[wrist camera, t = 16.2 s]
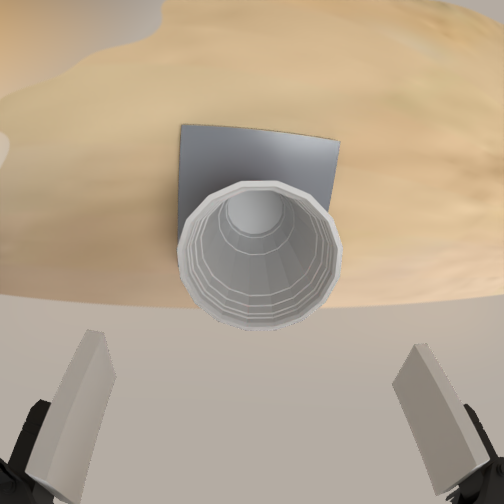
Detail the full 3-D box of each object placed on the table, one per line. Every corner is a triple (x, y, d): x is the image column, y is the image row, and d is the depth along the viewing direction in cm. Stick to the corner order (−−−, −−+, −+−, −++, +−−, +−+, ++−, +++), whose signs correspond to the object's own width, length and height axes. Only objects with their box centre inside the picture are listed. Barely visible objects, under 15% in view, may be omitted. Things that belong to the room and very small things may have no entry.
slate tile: (179, 261, 34) (178, 267, 33) (184, 124, 27) (181, 124, 26) (311, 271, 35) (314, 277, 34) (336, 140, 28) (340, 141, 27)
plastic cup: (269, 129, 27) (287, 145, 16) (327, 219, 31) (369, 282, 20) (176, 194, 29) (140, 249, 19) (240, 273, 33) (240, 352, 23)
